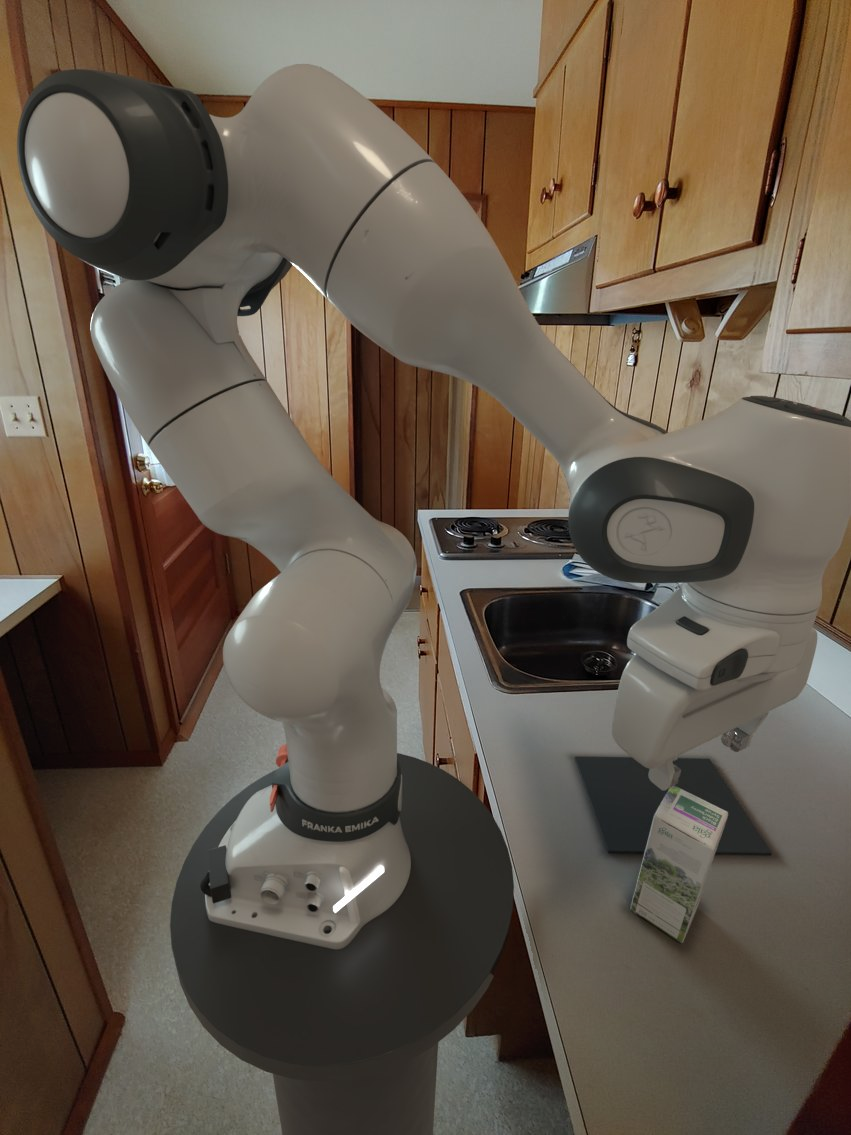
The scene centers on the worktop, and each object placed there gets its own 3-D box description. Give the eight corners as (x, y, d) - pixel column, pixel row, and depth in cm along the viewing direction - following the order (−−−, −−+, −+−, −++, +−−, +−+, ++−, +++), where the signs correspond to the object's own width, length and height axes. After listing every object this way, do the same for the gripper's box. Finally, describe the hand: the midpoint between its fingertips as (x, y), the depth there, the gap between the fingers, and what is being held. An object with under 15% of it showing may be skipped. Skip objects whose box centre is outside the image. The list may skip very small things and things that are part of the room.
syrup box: (698, 906, 61) (731, 808, 55) (682, 947, 57) (714, 846, 51) (647, 875, 64) (672, 780, 58) (627, 912, 60) (652, 813, 54)
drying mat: (607, 852, 67) (608, 850, 67) (574, 758, 81) (574, 756, 81) (771, 855, 67) (772, 852, 67) (708, 760, 82) (709, 758, 81)
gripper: (778, 580, 49) (740, 707, 54) (612, 633, 40) (585, 779, 45) (857, 610, 44) (806, 747, 49) (687, 678, 35) (647, 837, 40)
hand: (699, 763), depth 47 cm, fingers open, 8 cm apart
